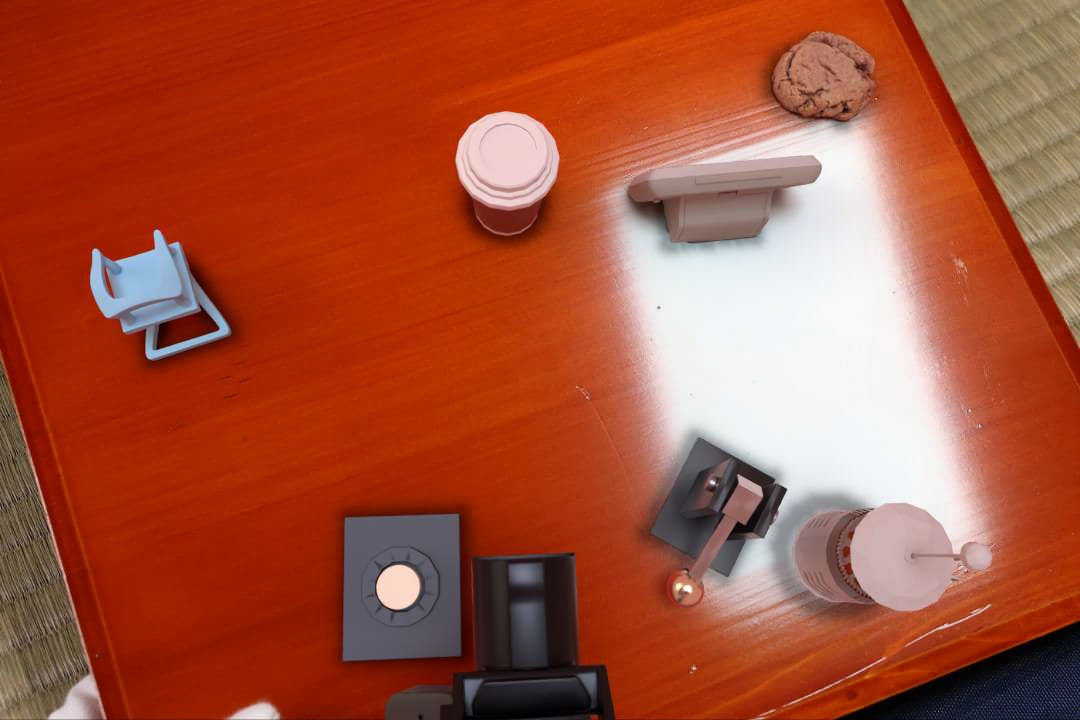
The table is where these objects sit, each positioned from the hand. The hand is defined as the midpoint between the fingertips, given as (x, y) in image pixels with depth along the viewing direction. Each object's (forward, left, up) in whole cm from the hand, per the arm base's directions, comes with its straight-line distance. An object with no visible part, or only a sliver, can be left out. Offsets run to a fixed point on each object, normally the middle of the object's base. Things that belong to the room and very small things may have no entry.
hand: (521, 698), depth 63 cm
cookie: (+57, -33, -13) cm, 67 cm away
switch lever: (+11, -16, -6) cm, 21 cm away
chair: (+34, +31, -13) cm, 48 cm away
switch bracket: (+14, -18, -13) cm, 26 cm away
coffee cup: (+44, 0, -13) cm, 46 cm away
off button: (+8, +10, -9) cm, 16 cm away
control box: (+8, +10, -13) cm, 18 cm away
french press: (+9, -30, -13) cm, 34 cm away
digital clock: (+44, -20, -13) cm, 50 cm away
